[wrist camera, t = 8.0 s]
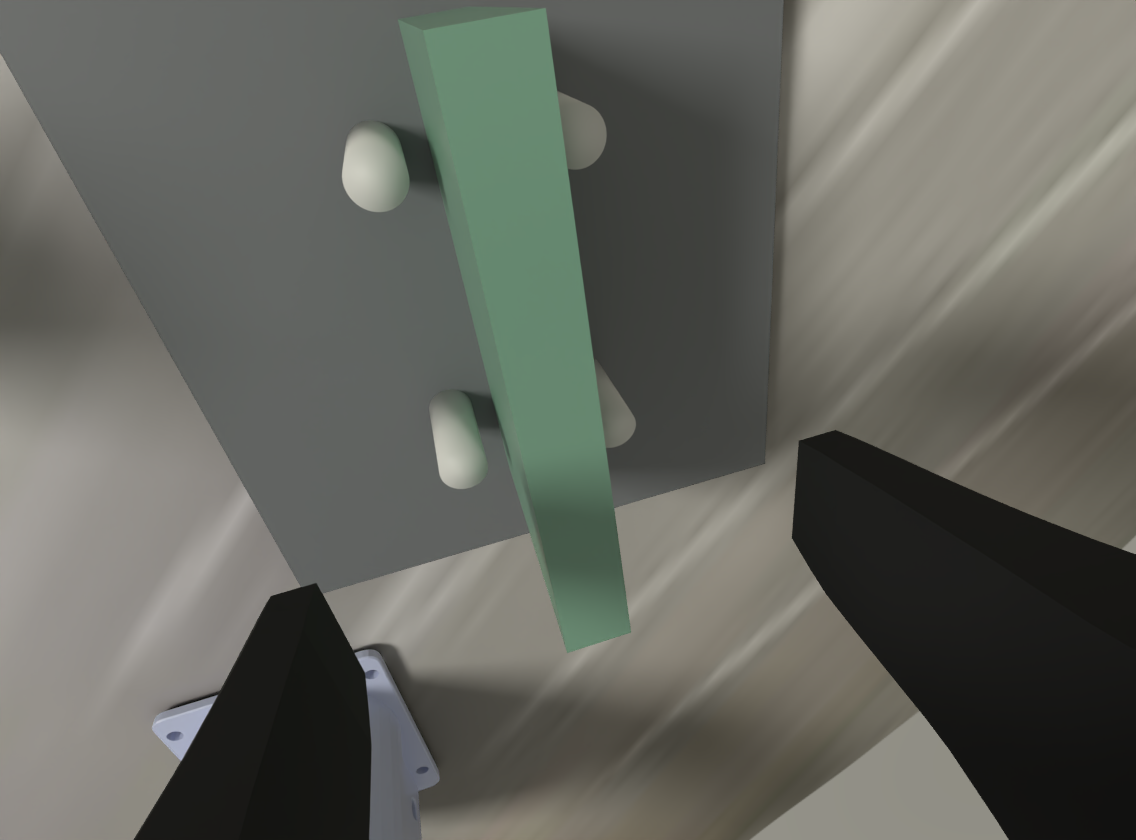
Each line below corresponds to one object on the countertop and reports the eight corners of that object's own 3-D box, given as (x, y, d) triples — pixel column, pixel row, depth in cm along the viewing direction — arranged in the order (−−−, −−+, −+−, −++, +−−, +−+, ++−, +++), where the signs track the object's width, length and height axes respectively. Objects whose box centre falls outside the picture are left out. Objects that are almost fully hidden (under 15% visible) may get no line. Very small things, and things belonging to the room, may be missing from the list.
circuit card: (556, 456, 20) (631, 632, 15) (509, 468, 20) (567, 652, 14) (468, 6, 13) (546, 7, 8) (397, 19, 13) (422, 30, 8)
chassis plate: (751, 447, 24) (812, 518, 20) (309, 575, 22) (299, 677, 18) (767, -233, 13) (896, -310, 10) (-69, -120, 11) (-244, -171, 8)
